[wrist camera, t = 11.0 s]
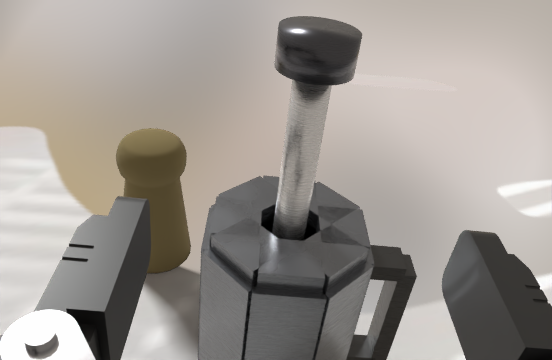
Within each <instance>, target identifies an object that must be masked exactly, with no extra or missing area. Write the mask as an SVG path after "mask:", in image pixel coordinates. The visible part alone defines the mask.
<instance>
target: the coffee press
mask: <svg viewBox="0 0 552 360" xmlns="http://www.w3.org/2000/svg"><path fill="white" fill-rule="evenodd" d="M279 178H280V177H273V176H264V177H263V178H262V177H260V176H259V177H257V178H255V179H252V180H250V181H248V182H246V183H243V184H241V185H239V186H236V187H234V188H232V189H230V190H227V191H225V192H223V193H221V194H219V197H217V198H216V203H215V204H214V205H212V206H211V208H209V213H208V218H207V223H206V228H205V233H204V238H203V243H202V248H201V275H200V308H199V341H198V360H386V359H387V356H388V353H389V351H390V348H391V345H392V343H393V340H394V337H395V334H396V332H397V329H398V326H399V323H400V321H401V318H402V315H403V313H404V310H405V307H406V304H407V302H408V299H409V296H410V293H411V291H412V288H413V285H414V283H415V280H416V277H417V276H416V273H415V271H414V267H413V264H412V260H411V257H410V255H403V254H402V252H401V248H398V247H387V246H375V245H370V242H369V237H368V233H367V228H366V224H365V220H364V215H363V211H362V210H360V207H359V206H357V205H356V204H354V203H352V202H351V201H349V200H348V199H346V198H345V197H343V196H341V195H340V194H338V193H336V192H335V191H333V190H332V189H330V188H328V187H327V186H325V185H324V184H322V183H320V182H317V183H315V180H314V186H313V192H312V197H311V203H310V208H309V214H308V219H307V225H306V230H305V236H304V241H299V240H288V239H278V238H277V237H275V236H274V235H273V234H272V231H273V224H274V216H275V208H276V201H277V193H278V186H279ZM370 279H374V280H385V282H384V285H383V288H382V291H381V294H380V297H379V300H378V303H377V307H376V310H375V313H374V316H373V319H372V322H371V325H370V328H369V332H368V335H367V336H366V335H354V332H355V328H356V325H357V322H358V318H359V315H360V312H361V308H362V305H363V301H364V298H365V295H366V291H367V288H368V284H369V281H370Z"/></svg>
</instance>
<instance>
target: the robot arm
mask: <svg viewBox="0 0 552 360" xmlns="http://www.w3.org/2000/svg"><path fill="white" fill-rule="evenodd" d="M150 255H151V228H150V204H149V200H148V199H142V198H131V197H120V196H118V197H117V198H116V199H115V202H114V204H113V206H112V208H111V210H110V212H109V215H108V216H102V215H92V216H91V217H90V218H89V219H87V220H86V221H85V222H84V223H83V224H81V225H80V226H79V227H78V228H77V230H76V231H75V233H74V235H73V237H72V239H71V241H70V243H69V247H67V249H66V251H65V253H64V255H63V258H62V260H60V262H59V264H58V266H57V268H56V270H55V272H54V274H53V276H52V278H51V280H50V282H49V284H48V286H47V288H46V289H45V291H44V293H43V295H42V297H41V299H40V301H39V303H38V305H37V307H36V309H35V310H34V312H33V313H31V314H28V315H26V316H24V317H22V318H21V319H19V320H17V321H16V322H15V323H14V324H12V325H11V326H10V327H9V328H8V329H7V331H6V332H5V334H3V335H1V336H0V360H120V359H121V356H122V353H123V349H124V346H125V343H126V340H127V336H128V333H129V330H130V326H131V323H132V320H133V317H134V313H135V310H136V307H137V303H138V300H139V297H140V294H141V290H142V287H143V284H144V280H145V277H146V274H147V271H148V267H149V262H150ZM442 291H443V296H444V299H445V302H446V304H447V307H448V310H449V313H450V316H451V319H452V321H453V324H454V327H455V330H456V333H457V335H458V338H459V341H460V344H461V347H462V349H463V352H464V355H465V358H466V360H552V306H551V305H550V304H549V303H548V302H547V301H548V299H547V298H546V296H545V294H544V293H543V291H542V290H540V286H539V284H538V282H537V280H536V279H535V277H534V275H533V274H532V272H531V270H530V269H529V268H528V267H527V266H526V265H525V264H524V263H523V262H522V261H520V260H519V259H518V258H517V257H516V256H515V255H514V254H508V253H507V252H506V250H505V248H504V246H503V244H502V242H501V241H500V239H499V237H498V236H497V235H496V234H495V233H490V232H479V231H469V230H465V231H463V232H462V233H461V234H460V236H459V238H458V241H457V243H456V245H455V248H454V250H453V252H452V255H451V257H450V259H449V262H448V264H447V266H446V268H445V271H444V274H443V278H442Z"/></svg>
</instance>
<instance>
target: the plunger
mask: <svg viewBox="0 0 552 360" xmlns="http://www.w3.org/2000/svg"><path fill="white" fill-rule="evenodd" d="M361 39H362V33H361V32H360V31H359V30H358V29H356V28H355V27H353V26H351V25H349V24H346V23H343V22H339V21H336V20H332V19H327V18H321V17H308V16H298V17H290V18H286V19H283V20H282V21H280V22H279V27H278V36H277V46H276V55H275V63H274V65H275V68H276V70H277V71H278V72H279V73H281V74H282V75H284V76H286V77H288V78H290V79H293V81H292V88H291V97H290V103H289V111H288V119H287V126H286V134H285V141H284V148H283V156H282V163H281V171H280V178H279V186H278V193H277V201H276V208H275V216H274V224H273V231H272V234H273V235H274V236H275V237H277V238H278V239H288V240H299V241H304V236H305V230H306V225H307V219H308V214H309V208H310V203H311V197H312V192H313V186H314V180H315V175H316V169H317V164H318V158H319V153H320V147H321V142H322V136H323V130H324V125H325V119H326V114H327V109H328V103H329V97H330V92H331V86H332V85H339V84H343V83H347V82H349V81H351V80H352V79H353V77H354V73H355V68H356V63H357V58H358V53H359V49H360V44H361Z"/></svg>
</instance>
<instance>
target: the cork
mask: <svg viewBox="0 0 552 360" xmlns="http://www.w3.org/2000/svg"><path fill="white" fill-rule="evenodd" d="M116 161H117V166H118V169H119V171H120V174H121V175H122V176H123V177H124V178H125V188H124V197H131V198H142V199H148V200H149V204H150V228H151V255H150V262H149V267H148V271H147V273H161V272H165V271H169V270H172V269H174V268H176V267H178V266H180V265H181V264H182V263H183V262H184V261H185V260H186V259H187V257H188V256H189V254H190V247H191V245H190V239H189V232H188V226H187V220H186V214H185V207H184V201H183V195H182V189H181V183H180V176H181V175H182V173H183V172H184V169H185V166H186V150H185V147H184V145H183V143H182V141H181V140H180V138H179V137H177V136H176V135H175V134H173V133H171V132H169V131H166V130H161V129H151V128H149V129H141V130H138V131H134V132H132V133H130V134H128V135H126V136H125V137H124V138H123V139H122V141H121V142H120V144H119V146H118V149H117V153H116Z"/></svg>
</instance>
